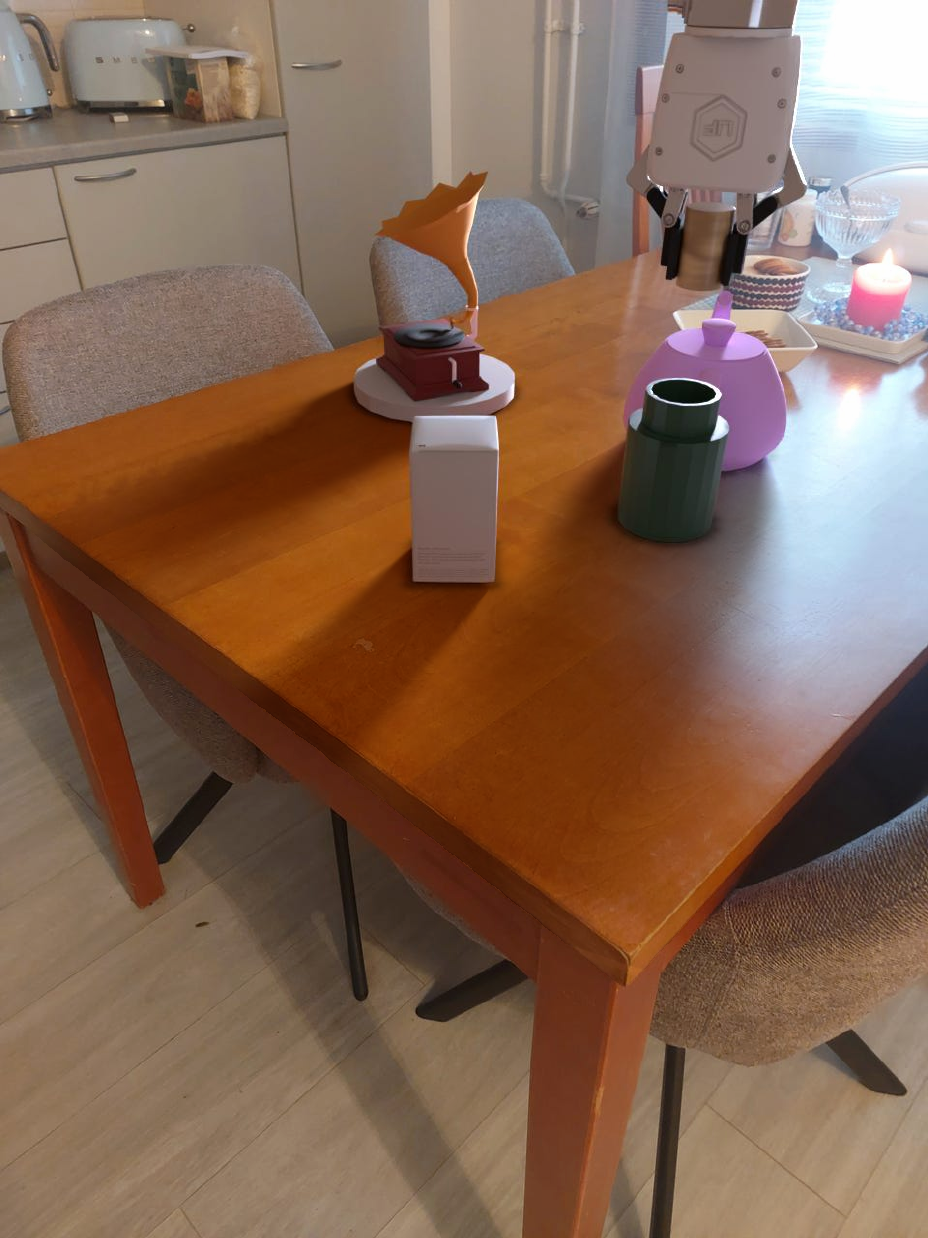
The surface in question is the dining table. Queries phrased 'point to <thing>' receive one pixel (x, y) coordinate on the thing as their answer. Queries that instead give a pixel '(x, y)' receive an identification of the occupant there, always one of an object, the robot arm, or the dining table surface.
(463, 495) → the white packaging box
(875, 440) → the dining table surface
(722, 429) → the green bottle
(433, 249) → the gramophone
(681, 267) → the stopper
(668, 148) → the robot arm
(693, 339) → the teapot
